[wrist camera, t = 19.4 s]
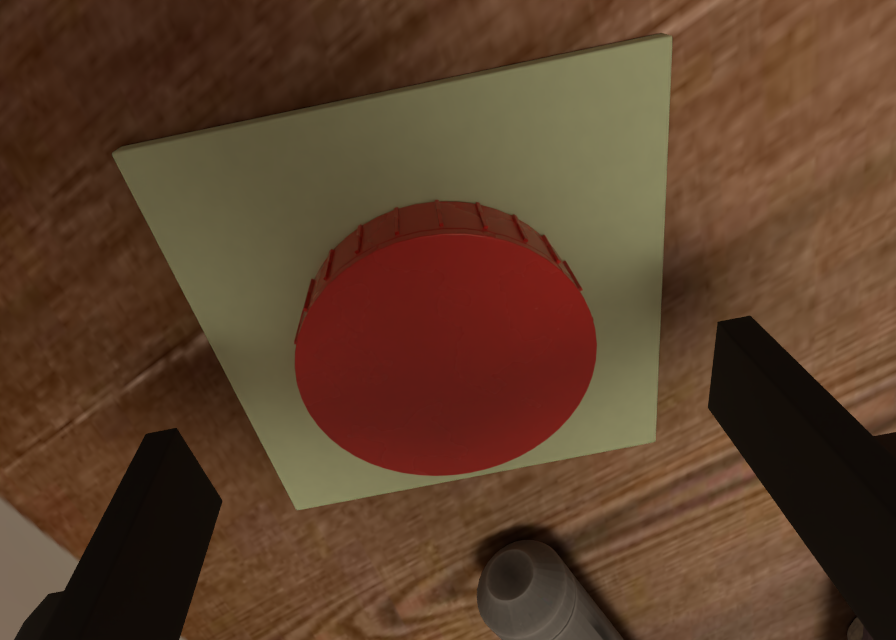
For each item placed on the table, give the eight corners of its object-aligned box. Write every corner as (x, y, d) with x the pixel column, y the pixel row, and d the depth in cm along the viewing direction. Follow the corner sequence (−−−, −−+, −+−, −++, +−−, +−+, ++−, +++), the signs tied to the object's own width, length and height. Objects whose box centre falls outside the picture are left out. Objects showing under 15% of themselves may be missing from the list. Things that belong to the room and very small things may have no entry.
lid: (581, 404, 19) (600, 450, 18) (345, 447, 20) (341, 497, 18) (571, 171, 15) (596, 200, 13) (262, 230, 15) (244, 267, 13)
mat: (119, 146, 14) (109, 153, 13) (663, 32, 14) (673, 34, 13) (298, 498, 22) (296, 511, 21) (650, 431, 21) (656, 442, 21)
